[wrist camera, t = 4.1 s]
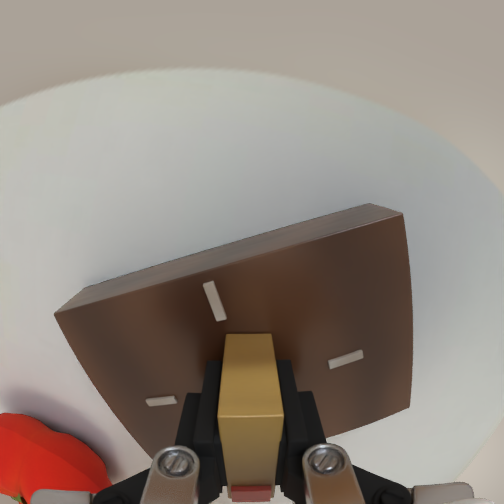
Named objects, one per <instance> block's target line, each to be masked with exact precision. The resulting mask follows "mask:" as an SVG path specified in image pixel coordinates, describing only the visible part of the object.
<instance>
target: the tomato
mask: <svg viewBox="0 0 504 504" xmlns="http://www.w3.org/2000/svg"><path fill="white" fill-rule="evenodd" d="M110 486H112V483H111V481H110V480H109V478H108V476H107V471H106V466H105V464H104V462H103V461H102V460H101V458H100V457H99V456H98V455H97V454H96V453H95V452H93V451H92V450H91V449H90V448H89V447H88V446H87V445H86V444H84V443H83V442H81V441H80V440H78V439H77V438H75V437H73V436H72V435H70V434H66V433H59V432H55V431H53V430H52V429H50V428H48V427H47V426H46V425H44V424H43V423H42V422H40V421H39V420H37V419H35V418H33V417H30V416H27V415H23V414H11V413H2V414H0V493H2V494H5V495H9V496H12V497H11V498H12V499H14V500H16V501H18V502H19V504H30V500H31V496H32V494H33V493H34V492H35V491H37V490H39V489H52V490H65V491H89V492H90V493H92V494H96V493H98V492H99V491H101V490H103V489H105V488H107V487H110Z"/></svg>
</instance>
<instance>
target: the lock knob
mask: <svg viewBox="0 0 504 504" xmlns="http://www.w3.org/2000/svg"><path fill="white" fill-rule="evenodd" d="M217 419H218V427H219V435H220V441H221V443H222V450H223V457H224V464H225V471H226V477H227V483H228V486H227V491H228V497H229V498H232V502H266V501H270V499H271V498H273V497H274V492H275V479H276V471H277V462H278V453H279V444H280V441H281V439H282V430H283V421H284V411H283V405H282V398H281V391H280V385H279V378H278V372H277V365H276V359H275V352H274V346H273V340H272V335H271V334H226V338H225V347H224V356H223V365H222V375H221V384H220V394H219V404H218V413H217Z"/></svg>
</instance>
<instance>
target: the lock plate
mask: <svg viewBox="0 0 504 504" xmlns="http://www.w3.org/2000/svg"><path fill="white" fill-rule="evenodd" d="M54 316H55V318H56V320H57V322H58V324H59V326H60V328H61V330H62V332H63V334H64V336H65V338H66V339H67V341H68V343H69V345H70V347H71V348H72V350H73V352H74V354H75V355H76V357H77V359H78V360H79V362H80V364H81V365H82V367H83V369H84V370H85V372H86V373H87V375H88V377H89V378H90V380H91V381H92V383H93V384H94V386H95V387H96V389H97V390H98V392H99V393H100V395H101V396H102V397H103V399H104V400H105V402H106V403H107V404H108V406H109V407H110V409H111V410H112V411H113V413H114V414H115V415H116V417H117V418H118V419H119V420H120V422H121V423H122V424H123V426H124V427H125V428H126V429H127V431H128V432H129V433H130V434H131V435H132V437H133V438H134V439H135V440H136V441H137V443H138V444H139V445H140V446H141V447H142V448H143V450H144V451H145V452H146V453H147V454H148V455H149V456H150V457H151V458H152V460H153V458H154V456H155V455H156V453H157V452H158V451H160V450H161V449H163V448H165V447H168V446H173V445H174V444H175V440H176V435H177V431H178V427H179V422H180V418H181V414H182V409H183V405H184V401H185V397H186V394H187V392H189V393H201V392H202V386H203V380H204V375H205V370H206V364H207V361H208V360H210V361H222V364H223V356H224V347H225V338H226V334H271V335H272V340H273V346H274V352H275V359H276V360H286V359H290V360H291V364H292V369H293V373H294V377H295V382H296V386H297V391H298V392H300V391H312V393H313V395H314V399H315V402H316V406H317V409H318V413H319V417H320V420H321V424H322V427H323V431H324V435H325V438H328V437H331V436H335V435H338V434H341V433H344V432H347V431H350V430H353V429H356V428H359V427H362V426H365V425H367V424H370V423H373V422H375V421H378V420H380V419H383V418H385V417H388V416H390V415H393V414H395V413H397V412H400V411H402V410H404V409H407V408H409V407H410V398H411V385H412V366H413V310H412V290H411V276H410V265H409V255H408V246H407V239H406V231H405V224H404V218H403V213H401V212H398V211H394V210H391V209H388V208H384V207H381V206H377V205H374V204H370V203H368V204H364V205H361V206H357V207H354V208H350V209H347V210H343V211H339V212H336V213H332V214H329V215H325V216H322V217H318V218H315V219H311V220H308V221H304V222H301V223H297V224H294V225H290V226H287V227H283V228H280V229H276V230H273V231H270V232H266V233H263V234H259V235H256V236H252V237H249V238H246V239H242V240H239V241H236V242H232V243H229V244H225V245H222V246H219V247H215V248H212V249H209V250H205V251H202V252H199V253H195V254H192V255H189V256H186V257H182V258H179V259H176V260H172V261H169V262H166V263H163V264H159V265H156V266H153V267H150V268H146V269H143V270H140V271H137V272H134V273H130V274H127V275H124V276H121V277H118V278H114V279H111V280H108V281H105V282H102V283H99V284H96V285H92V286H89V287H86V288H84V289H83V290H81V291H80V292H79V293H78V294H77V295H75V296H74V297H73V298H72V299H70V300H69V301H68V302H67V303H66V304H64V305H63V306H62V307H61V308H60V309H59V310H57V311H56V312H55V313H54Z"/></svg>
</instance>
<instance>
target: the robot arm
mask: <svg viewBox="0 0 504 504" xmlns="http://www.w3.org/2000/svg"><path fill="white" fill-rule="evenodd" d="M222 365H223V364H222V361H210V360H208V361H207V364H206V370H205V375H204V380H203V386H202V392H201V393H189V392H187V394H186V397H185V401H184V405H183V409H182V414H181V418H180V422H179V427H178V431H177V435H176V440H175V444H174V445H173V446H168V447H165V448H163V449H161V450H160V451H158V452H157V453H156V455H155V456H154V458H153V461H152V464H151V468H149V469H147V470H145V471H143V472H140V473H138V474H136V475H134V476H132V477H130V478H128V479H126V480H123V481H121V482H119V483H117V484H114V485H112V486H110V487H107V488H105V489H103V490H101V491H99V492H98V493H96V494H92V493H90V492H89V491H65V490H52V489H39V490H37V491H35V492H34V493H33V494H32V496H31V500H30V504H211V502H212V501H214V500H215V499H217V498H218V497H219V493H222V486H228V483H227V477H226V471H225V464H224V457H223V450H222V443H221V441H220V435H219V427H218V419H217V413H218V404H219V394H220V384H221V375H222ZM276 365H277V372H278V378H279V385H280V391H281V398H282V405H283V411H284V421H283V430H282V439H281V441H280V444H279V453H278V462H277V471H276V479H275V485H280V488H281V492H284V496H285V497H287V498H289V499H290V500H292V503H293V504H495V503H494V502H492V501H490V500H487V499H483V498H474V492H473V489H472V487H471V486H470V485H469V484H467V483H465V482H454V483H445V484H434V485H420V486H414V487H413V488H406V487H404V486H403V485H401V484H398V483H396V482H393V481H390V480H388V479H385V478H383V477H380V476H378V475H375V474H373V473H370V472H368V471H366V470H363V469H361V468H359V467H357V466H354V465H352V464H351V461H350V458H349V456H348V454H347V452H346V451H345V450H344V449H343V448H342V447H340V446H338V445H335V444H331V443H327V442H326V438H325V435H324V431H323V427H322V424H321V420H320V417H319V413H318V409H317V406H316V402H315V399H314V395H313V393H312V391H300V392H298V391H297V386H296V382H295V377H294V373H293V369H292V364H291V360H290V359H286V360H276Z"/></svg>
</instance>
